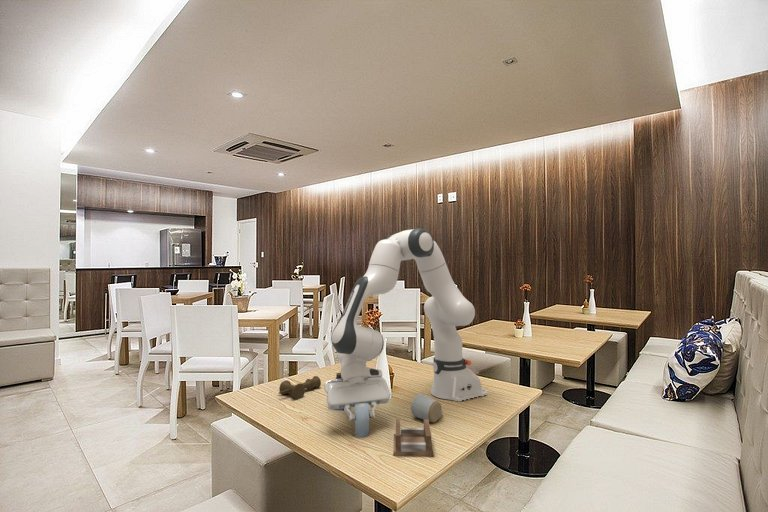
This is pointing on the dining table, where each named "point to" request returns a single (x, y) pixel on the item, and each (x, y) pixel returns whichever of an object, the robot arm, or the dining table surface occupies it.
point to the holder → (412, 440)
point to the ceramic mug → (426, 408)
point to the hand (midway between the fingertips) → (362, 418)
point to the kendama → (299, 387)
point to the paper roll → (362, 419)
